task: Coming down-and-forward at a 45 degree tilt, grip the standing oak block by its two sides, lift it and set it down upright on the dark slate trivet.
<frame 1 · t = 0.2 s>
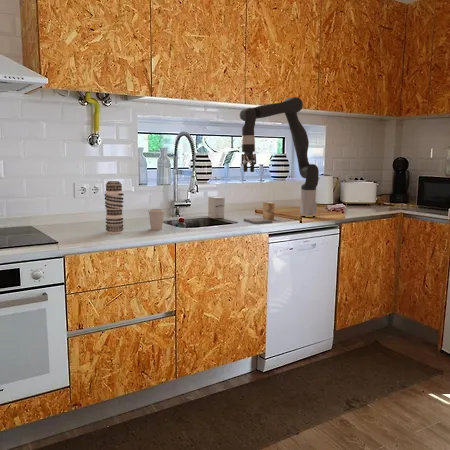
hand: (248, 171, 272), 29 cm above the worktop, tool pointing down, fingers open, 8 cm apart
dixie cup: (156, 229, 240), on the worktop
slate trivet: (257, 221, 272), on the worktop
supplement box: (216, 217, 286), on the worktop
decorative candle: (114, 232, 229), on the worktop
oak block: (268, 219, 283), on the worktop
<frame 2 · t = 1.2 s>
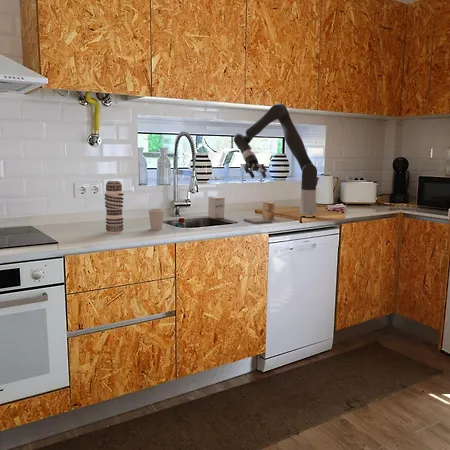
hand: (259, 177, 289), 25 cm above the worktop, tool tilted 45°, fingers open, 8 cm apart
nothing on the worktop moved.
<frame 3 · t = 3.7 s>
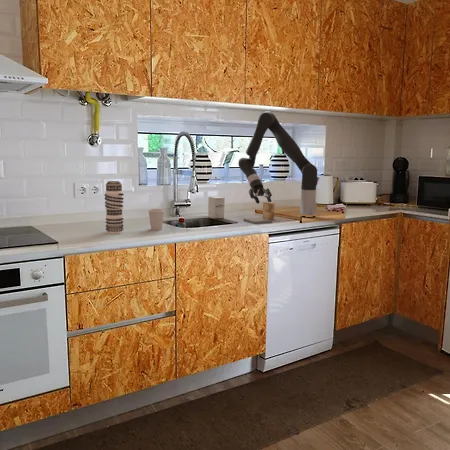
hand: (264, 202, 286), 9 cm above the worktop, tool tilted 45°, fingers open, 8 cm apart
nothing on the worktop moved.
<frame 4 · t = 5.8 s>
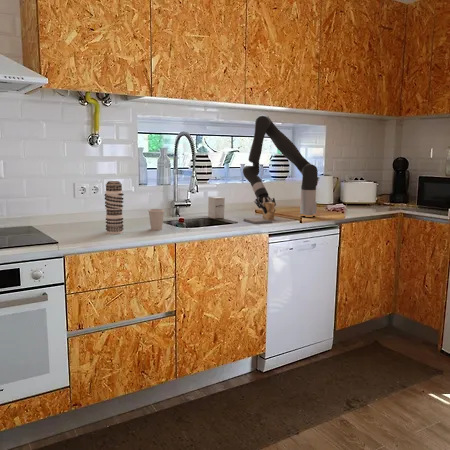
hand: (270, 212, 281), 4 cm above the worktop, tool tilted 45°, fingers closed on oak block, 5 cm apart
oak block: (268, 219, 283), on the worktop, touching gripper
everything else where it was.
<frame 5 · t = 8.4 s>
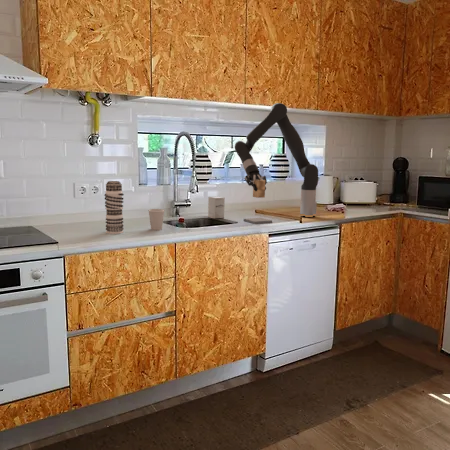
hand: (260, 190, 269), 18 cm above the worktop, tool tilted 45°, fingers closed on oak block, 5 cm apart
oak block: (258, 197, 271), point 14 cm above the worktop, touching gripper
everything else where it was.
when the fingers open (7 cm above the worktop, at t = 11.2 s): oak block drops 1 cm, resting on slate trivet.
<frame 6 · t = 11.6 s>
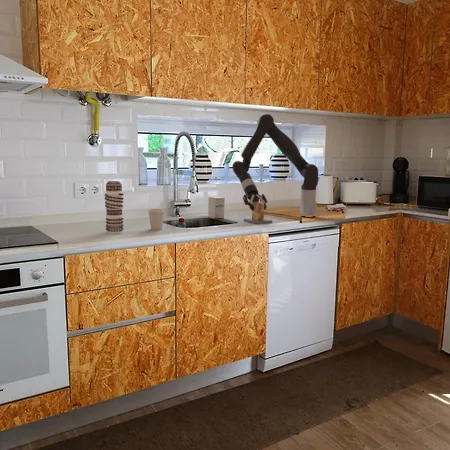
hand: (259, 209, 269), 7 cm above the worktop, tool tilted 45°, fingers open, 8 cm apart
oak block: (257, 219, 272), point 1 cm above the worktop, touching slate trivet
everything else where it was.
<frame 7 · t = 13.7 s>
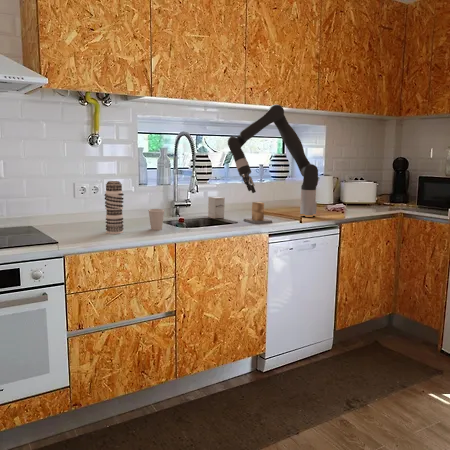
hand: (252, 191, 282), 16 cm above the worktop, tool tilted 30°, fingers open, 8 cm apart
nothing on the worktop moved.
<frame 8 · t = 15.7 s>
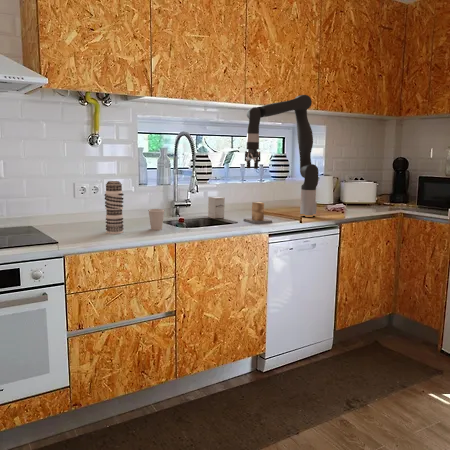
hand: (252, 168, 283), 30 cm above the worktop, tool pointing down, fingers open, 8 cm apart
nothing on the worktop moved.
at the end: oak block inside the target area on the slate trivet (0.1 cm from its centre), point 1.2 cm above the slate trivet's base; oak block tilted 0°; the gripper is holding nothing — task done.
